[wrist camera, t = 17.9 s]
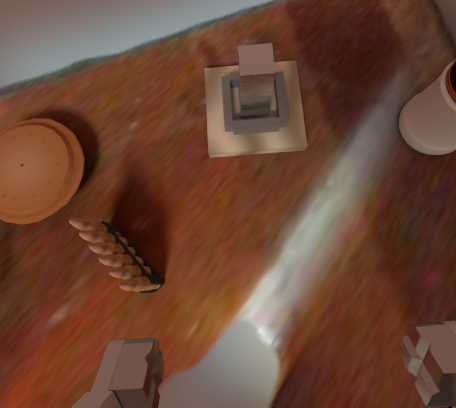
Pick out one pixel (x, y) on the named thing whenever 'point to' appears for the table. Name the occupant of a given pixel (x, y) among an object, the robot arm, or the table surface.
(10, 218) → the pie
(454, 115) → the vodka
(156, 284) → the ammunition clip
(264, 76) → the grey rectangular block
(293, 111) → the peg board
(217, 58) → the table surface
